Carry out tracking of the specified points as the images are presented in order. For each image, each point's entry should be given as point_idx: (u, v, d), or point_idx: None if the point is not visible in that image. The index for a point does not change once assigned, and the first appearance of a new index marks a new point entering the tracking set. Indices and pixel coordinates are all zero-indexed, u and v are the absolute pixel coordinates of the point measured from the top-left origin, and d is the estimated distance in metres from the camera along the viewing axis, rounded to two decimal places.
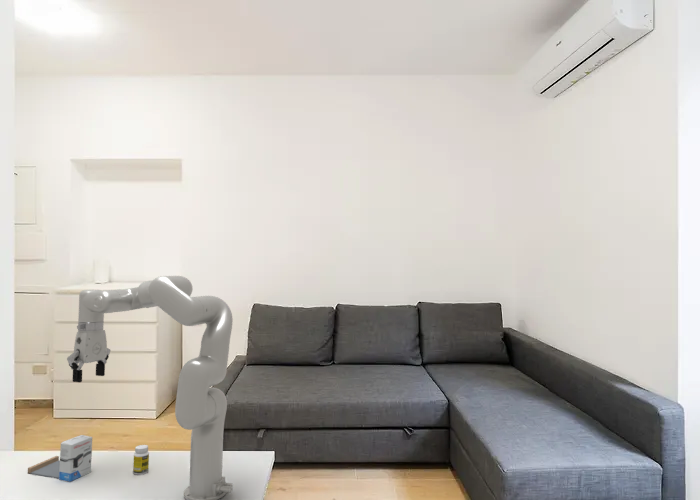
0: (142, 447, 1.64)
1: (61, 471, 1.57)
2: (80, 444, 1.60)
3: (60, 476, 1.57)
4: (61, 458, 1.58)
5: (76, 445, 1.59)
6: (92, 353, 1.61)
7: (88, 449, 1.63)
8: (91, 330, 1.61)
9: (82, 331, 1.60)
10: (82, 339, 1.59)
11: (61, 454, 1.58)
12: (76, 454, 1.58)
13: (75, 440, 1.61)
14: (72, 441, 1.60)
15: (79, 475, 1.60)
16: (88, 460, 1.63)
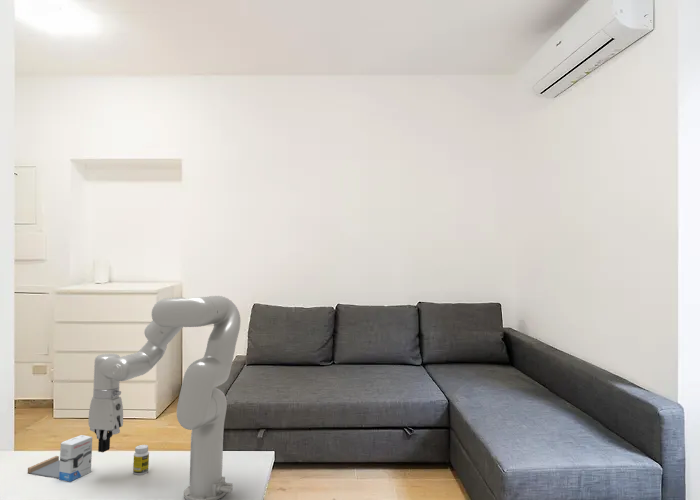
0: (142, 447, 1.64)
1: (61, 471, 1.57)
2: (80, 444, 1.60)
3: (60, 476, 1.57)
4: (61, 458, 1.58)
5: (76, 445, 1.59)
6: None
7: (88, 449, 1.63)
8: None
9: (116, 397, 1.58)
10: (121, 404, 1.59)
11: (61, 454, 1.58)
12: (76, 454, 1.58)
13: (75, 440, 1.61)
14: (72, 441, 1.60)
15: (79, 475, 1.60)
16: (88, 460, 1.63)
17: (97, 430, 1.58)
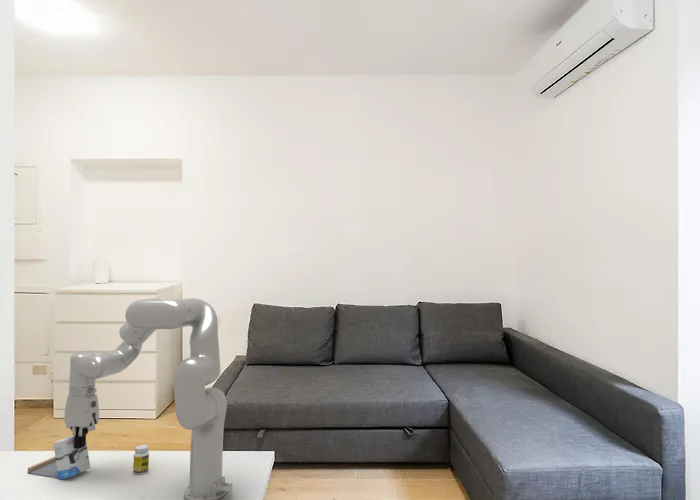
0: (142, 447, 1.64)
1: (59, 470, 1.58)
2: (73, 440, 1.61)
3: (59, 475, 1.58)
4: (56, 457, 1.58)
5: (69, 441, 1.60)
6: None
7: None
8: None
9: (91, 394, 1.61)
10: (96, 401, 1.61)
11: (56, 454, 1.58)
12: (70, 450, 1.59)
13: (67, 438, 1.62)
14: (64, 439, 1.61)
15: (78, 471, 1.60)
16: (85, 456, 1.63)
17: (73, 427, 1.60)
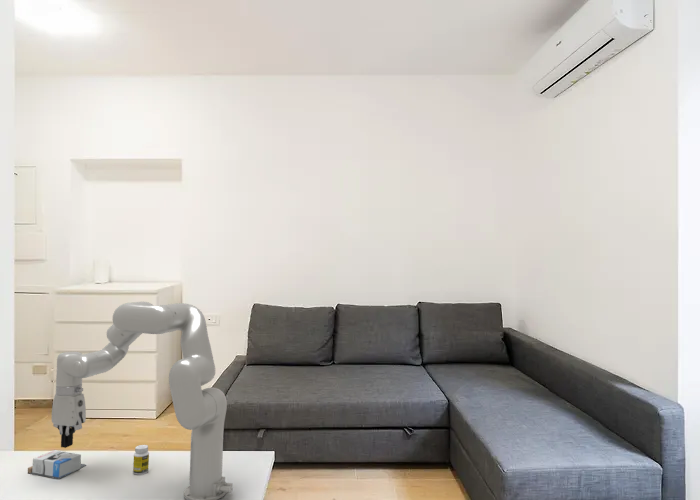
0: (142, 447, 1.64)
1: (52, 473, 1.59)
2: (44, 454, 1.65)
3: (56, 475, 1.58)
4: (42, 472, 1.60)
5: (40, 456, 1.63)
6: None
7: (58, 452, 1.67)
8: (81, 391, 1.65)
9: (78, 394, 1.62)
10: (83, 400, 1.63)
11: (40, 472, 1.60)
12: (46, 457, 1.62)
13: None
14: None
15: (67, 458, 1.61)
16: (67, 453, 1.66)
17: (60, 426, 1.62)
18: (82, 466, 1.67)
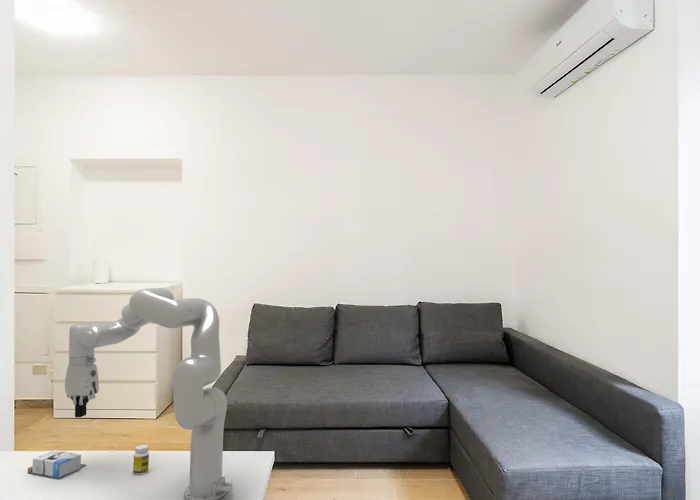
0: (142, 447, 1.64)
1: (52, 473, 1.59)
2: (44, 454, 1.65)
3: (56, 475, 1.58)
4: (42, 472, 1.60)
5: (40, 456, 1.63)
6: None
7: (58, 452, 1.67)
8: None
9: (91, 364, 1.65)
10: (96, 371, 1.65)
11: (40, 472, 1.60)
12: (46, 457, 1.62)
13: None
14: None
15: (67, 458, 1.61)
16: (67, 453, 1.66)
17: (73, 396, 1.64)
18: (82, 466, 1.67)
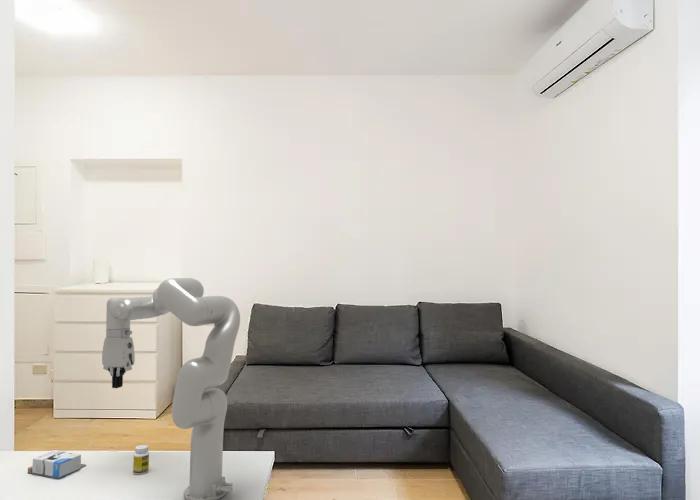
0: (142, 447, 1.64)
1: (52, 473, 1.59)
2: (44, 454, 1.65)
3: (56, 475, 1.58)
4: (42, 472, 1.60)
5: (40, 456, 1.63)
6: None
7: (58, 452, 1.67)
8: None
9: (127, 336, 1.70)
10: (132, 343, 1.70)
11: (40, 472, 1.60)
12: (46, 457, 1.62)
13: None
14: None
15: (67, 458, 1.61)
16: (67, 453, 1.66)
17: (110, 368, 1.69)
18: (82, 466, 1.67)
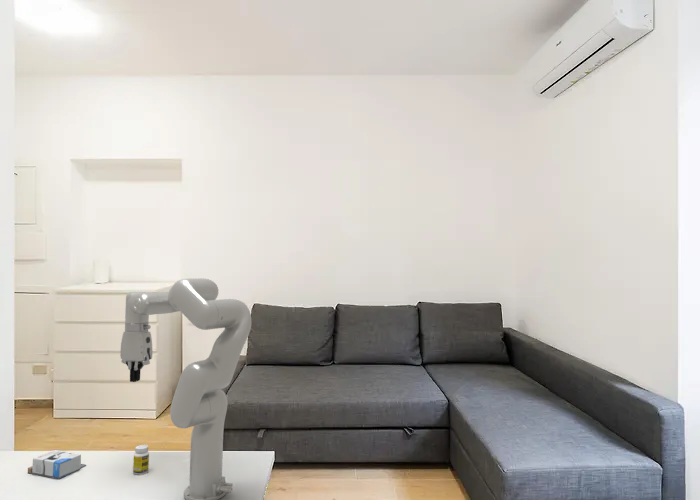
0: (142, 447, 1.64)
1: (52, 473, 1.59)
2: (44, 454, 1.65)
3: (56, 475, 1.58)
4: (42, 472, 1.60)
5: (40, 456, 1.63)
6: None
7: (58, 452, 1.67)
8: None
9: (146, 331, 1.70)
10: (150, 338, 1.71)
11: (40, 472, 1.60)
12: (46, 457, 1.62)
13: None
14: None
15: (67, 458, 1.61)
16: (67, 453, 1.66)
17: (128, 362, 1.70)
18: (82, 466, 1.67)
